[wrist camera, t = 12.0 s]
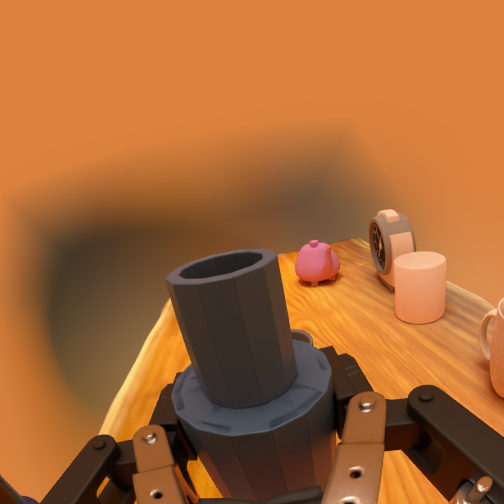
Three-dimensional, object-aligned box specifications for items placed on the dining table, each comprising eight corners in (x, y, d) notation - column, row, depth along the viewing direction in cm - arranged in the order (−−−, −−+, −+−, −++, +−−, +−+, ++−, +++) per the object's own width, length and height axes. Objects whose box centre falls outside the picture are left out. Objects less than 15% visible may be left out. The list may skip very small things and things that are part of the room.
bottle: (237, 546, 9) (96, 315, 6) (238, 476, 14) (160, 260, 11) (344, 530, 8) (342, 269, 6) (326, 461, 14) (297, 231, 11)
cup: (387, 320, 57) (385, 267, 54) (406, 297, 64) (404, 250, 61) (436, 327, 48) (439, 270, 45) (449, 302, 55) (450, 252, 52)
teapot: (356, 281, 82) (351, 240, 79) (313, 295, 79) (306, 252, 77) (325, 267, 101) (320, 232, 99) (288, 278, 99) (282, 242, 96)
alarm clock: (371, 275, 83) (363, 209, 79) (396, 270, 82) (390, 205, 78) (390, 298, 66) (384, 217, 62) (420, 291, 65) (415, 211, 61)
